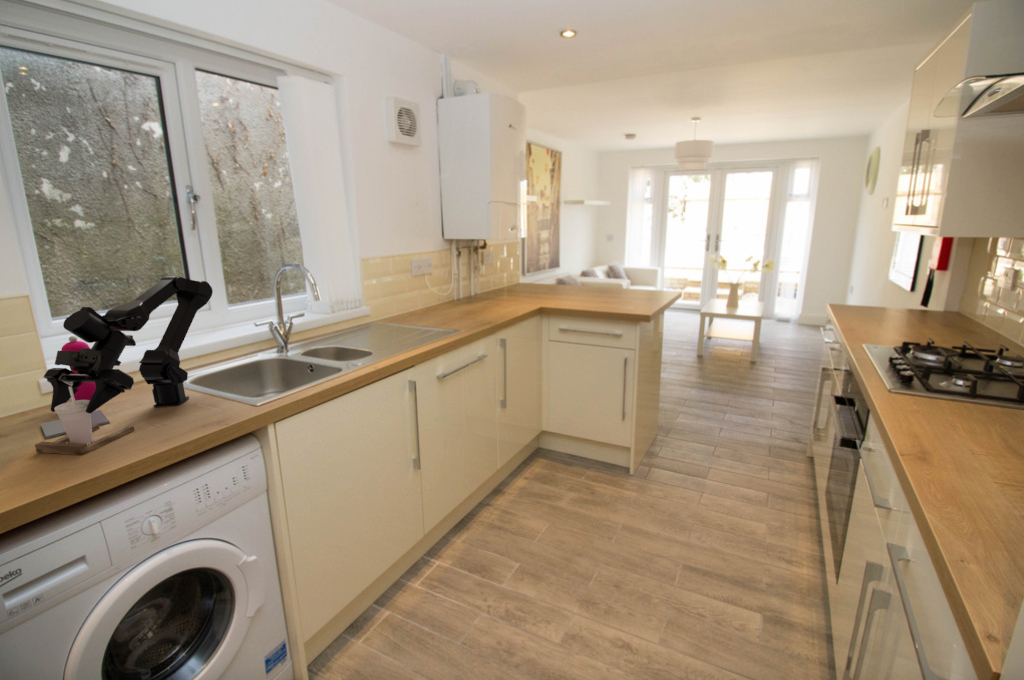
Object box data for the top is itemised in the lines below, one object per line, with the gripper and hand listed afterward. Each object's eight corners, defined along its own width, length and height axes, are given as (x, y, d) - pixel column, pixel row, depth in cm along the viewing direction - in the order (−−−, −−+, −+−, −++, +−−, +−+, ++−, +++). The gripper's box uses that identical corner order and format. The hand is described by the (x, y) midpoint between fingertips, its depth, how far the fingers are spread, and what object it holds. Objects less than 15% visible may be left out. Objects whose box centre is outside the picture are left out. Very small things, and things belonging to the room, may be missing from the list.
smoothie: (79, 450, 110) (64, 392, 107) (56, 448, 112) (41, 390, 108) (107, 438, 117) (93, 382, 113) (85, 436, 118) (71, 381, 115)
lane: (93, 428, 123) (92, 420, 122) (134, 430, 121) (132, 422, 121) (36, 452, 110) (34, 444, 109) (81, 455, 108) (79, 446, 108)
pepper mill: (77, 410, 135) (60, 340, 130) (67, 405, 139) (50, 337, 134) (109, 402, 141) (93, 334, 136) (98, 397, 145) (83, 332, 140)
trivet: (100, 411, 134) (100, 409, 133) (109, 423, 126) (109, 420, 126) (40, 425, 125) (40, 423, 125) (46, 438, 117) (45, 436, 117)
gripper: (42, 334, 114) (0, 396, 106) (112, 335, 111) (74, 398, 103) (83, 358, 123) (47, 416, 115) (148, 359, 121) (117, 418, 113)
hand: (70, 412), depth 111 cm, fingers open, 9 cm apart
